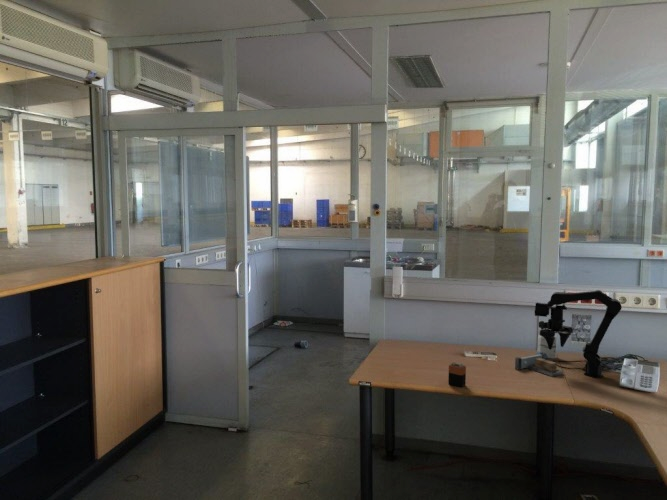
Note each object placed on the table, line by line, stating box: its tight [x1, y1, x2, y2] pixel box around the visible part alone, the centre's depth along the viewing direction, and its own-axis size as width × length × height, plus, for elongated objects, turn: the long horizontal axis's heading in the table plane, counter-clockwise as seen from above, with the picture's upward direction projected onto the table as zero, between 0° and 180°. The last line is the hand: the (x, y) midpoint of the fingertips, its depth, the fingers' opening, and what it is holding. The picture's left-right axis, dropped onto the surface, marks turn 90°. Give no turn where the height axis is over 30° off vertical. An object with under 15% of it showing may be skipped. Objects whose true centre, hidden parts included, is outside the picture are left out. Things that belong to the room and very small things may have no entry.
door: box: [520, 354, 542, 370], centre depth 260 cm, size 16×3×5 cm, turn 119°
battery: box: [447, 362, 467, 388], centre depth 232 cm, size 4×7×10 cm, turn 51°
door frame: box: [514, 352, 547, 371], centre depth 260 cm, size 20×2×6 cm, turn 119°
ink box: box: [536, 329, 557, 359], centre depth 278 cm, size 9×5×15 cm, turn 84°
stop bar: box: [535, 358, 558, 372], centre depth 253 cm, size 10×4×5 cm, turn 30°
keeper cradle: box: [527, 364, 564, 378], centre depth 253 cm, size 14×8×2 cm, turn 29°
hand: (556, 348), depth 254 cm, fingers open, 9 cm apart
